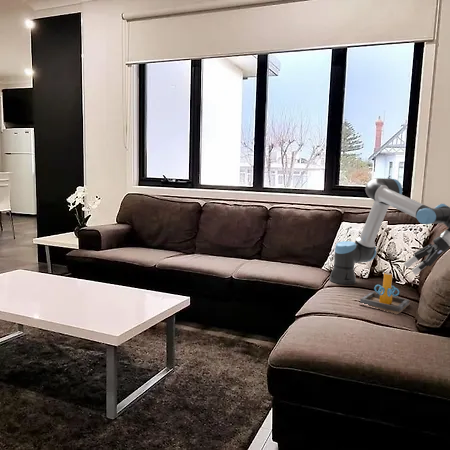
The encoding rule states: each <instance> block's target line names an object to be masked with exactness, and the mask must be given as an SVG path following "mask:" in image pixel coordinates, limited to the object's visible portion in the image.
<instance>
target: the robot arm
mask: <svg viewBox="0 0 450 450" xmlns="http://www.w3.org/2000/svg"><path fill="white" fill-rule="evenodd" d="M365 193H366V195H367V197H368V198H370V199H371V200H372V201H373V204H372V205H371V208H370V211H369V214H368V216H367V218H366V221H365V224H364V226H363V228H362V230H361V234H360V236H358V237H356V239H355V241H349V240H347V241H345V240H343V241H338V242H337V243H336V244H335V248H334V256H333V257H334V258H333V268H332V270H331V273H330V275H329V281H330V282H332V283H335V284H340V285H354V284H356V282H357V278H356V273H355V269H354V268H355V264H360V263H368V262H372V260H374V259H375V258H376V255H377V248H376V245H377V244H376V243H375V240H376V238H377V236H378V233H379V231H380V229H381V226H382V224H383V222H384V219H385V216H386V214H387V212H388V210H389V207H392V208H394V209H396V210H399V211H401V212H402V213H405V214H407V215H409V216H411V217H414V218H415V219H417V222H418V223H420V224H423V225H432V224H433V225H434V224H435V225H436V224H443V225H445V226H446V227H447V229H445V230H444V231H443V232H441V234H439V236H436V237H435V238H434V239H433V240H432V242H433V244H432V243H429V244H428V245H426V246H424V247H423V248H421V249H419V250H418V251H417V250H416V252H414V253H413V256H412V257H411V258H409V259H407V261H405V262H404V263H403V265H404V266H405V267H406V268H407V269H408V268H410V267H411V266H412V265H413V264H415V263H417V262H418V261H420V259H421V258H424V257H426V258H425V259H424V260H423V259H422V261H421V262H420V263H419V264H417V265H416V266H415V267H413V269H411V271H412V273H413V274H414V275H415V276H416V275H417V274H419V272H421V271H423V270H424V269H425V268H426V267H428V266H429V267H431V266H432V265H433V264H434V263H435V261H436V260H437V259H438V258H439V257H440V256H441V255H442V254H443V253H445V252H446V251H448V250H449V249H450V206H449V205H447V204H445V203H440V204H438V205H436V206H435V207H430V206H427V205H425V204H424V203H421V202H419V201H417V200H414V199H412V198H410V197H408V196H405V195H403V186H402V184H401V182H400V181H399V180H398V179H395V178H392V177H391V178H390V177H389V178H381V177H379V178H378V177H377V178H372V179H371V180H369V181H368V182H367V184H366V185H365Z"/></svg>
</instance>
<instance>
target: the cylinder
mask: <svg viewBox="0 0 450 450" xmlns="http://www.w3.org/2000/svg"><path fill="white" fill-rule="evenodd" d="M392 281H393V274H392V273H389V272H384V273H383V280H382V285H381V284H376V285H375V286H374V289H373V290H374V291H375V293H378V294H379V295H380V299H379V302H380V303H384V304H389V305H390V304H392V296H394V297H398V296H399V294H400V290H399V288H397V287H395V285H392V283H393V282H392ZM378 287H379V288H378ZM377 288H378V290H377ZM396 291H397V293H396V294H395V292H396Z"/></svg>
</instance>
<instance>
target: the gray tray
mask: <svg viewBox="0 0 450 450" xmlns="http://www.w3.org/2000/svg"><path fill="white" fill-rule="evenodd" d="M379 299H380V295H379V294H378V293H377V292H376V291H375V292H374V291H371V292H369V293H368V294H366V295H365V296H363V297H361V298H360V299H359V303H364V304H368V305H369V306H372V307H375V308H378V309H381V310H385V311H388V312H387V313H389V312H391V313H390V314H393V313H394V314H393V315H397V314H398V315H399V314H401V313H402V312H403V311H404V310H405V309H406V308H407V307H409V306H410V299H407V298H402V297H398V296H393V295H392V304H390V305H389V304H384V303H380V302H379Z"/></svg>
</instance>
